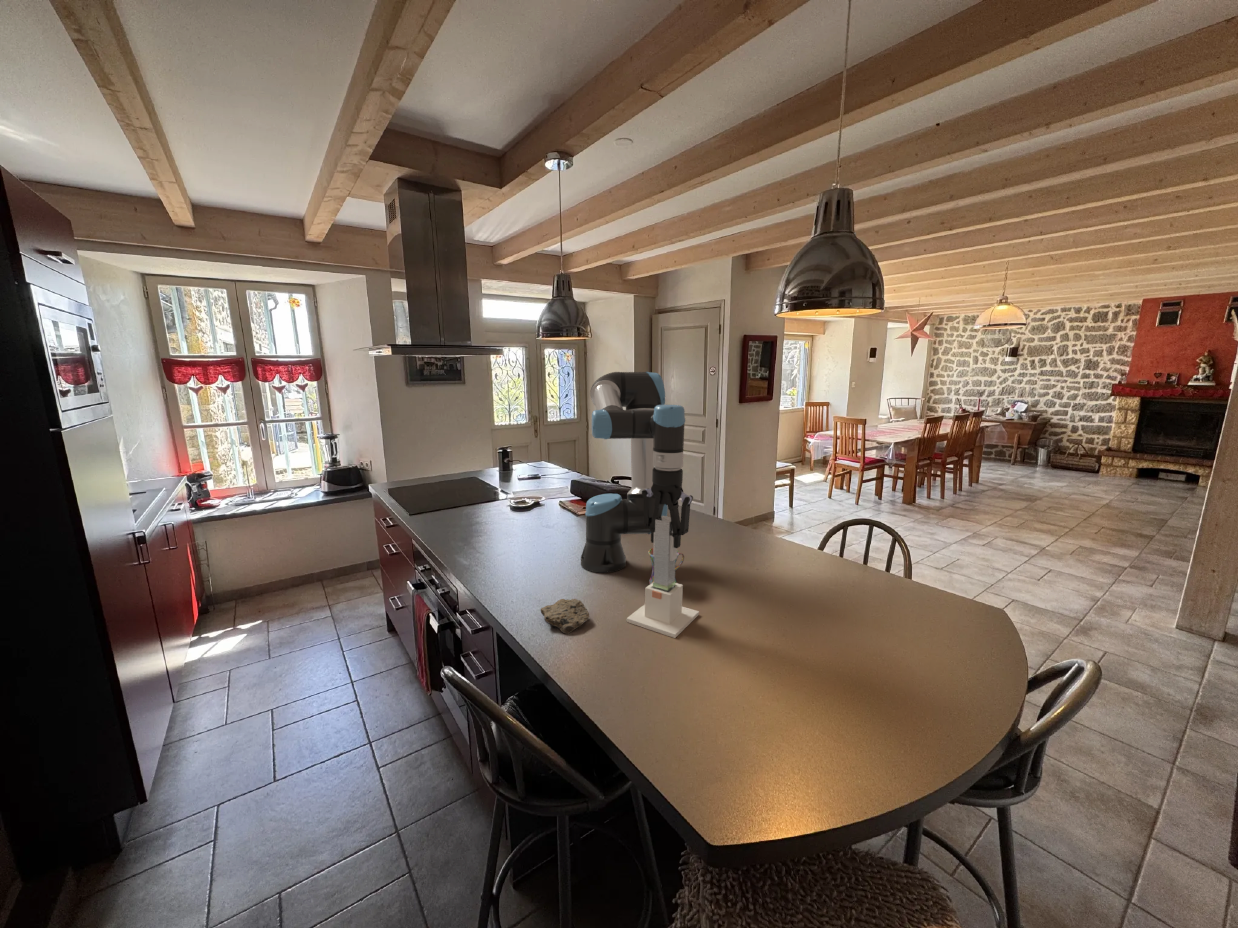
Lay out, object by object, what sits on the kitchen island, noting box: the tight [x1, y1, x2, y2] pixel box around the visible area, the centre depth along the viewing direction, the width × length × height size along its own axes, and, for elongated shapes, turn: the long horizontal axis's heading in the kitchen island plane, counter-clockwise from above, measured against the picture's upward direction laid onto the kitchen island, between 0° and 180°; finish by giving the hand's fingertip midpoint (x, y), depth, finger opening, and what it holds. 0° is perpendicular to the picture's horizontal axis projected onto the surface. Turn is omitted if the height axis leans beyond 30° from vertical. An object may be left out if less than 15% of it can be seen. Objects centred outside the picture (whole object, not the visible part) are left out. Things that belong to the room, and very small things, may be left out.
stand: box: [626, 582, 700, 639], centre depth 128 cm, size 14×14×9 cm
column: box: [653, 515, 676, 593], centre depth 126 cm, size 4×4×20 cm
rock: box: [540, 598, 590, 635], centre depth 127 cm, size 11×12×4 cm
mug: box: [647, 547, 685, 585], centre depth 149 cm, size 12×9×11 cm
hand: (665, 556), depth 126 cm, fingers closed on column, 4 cm apart
